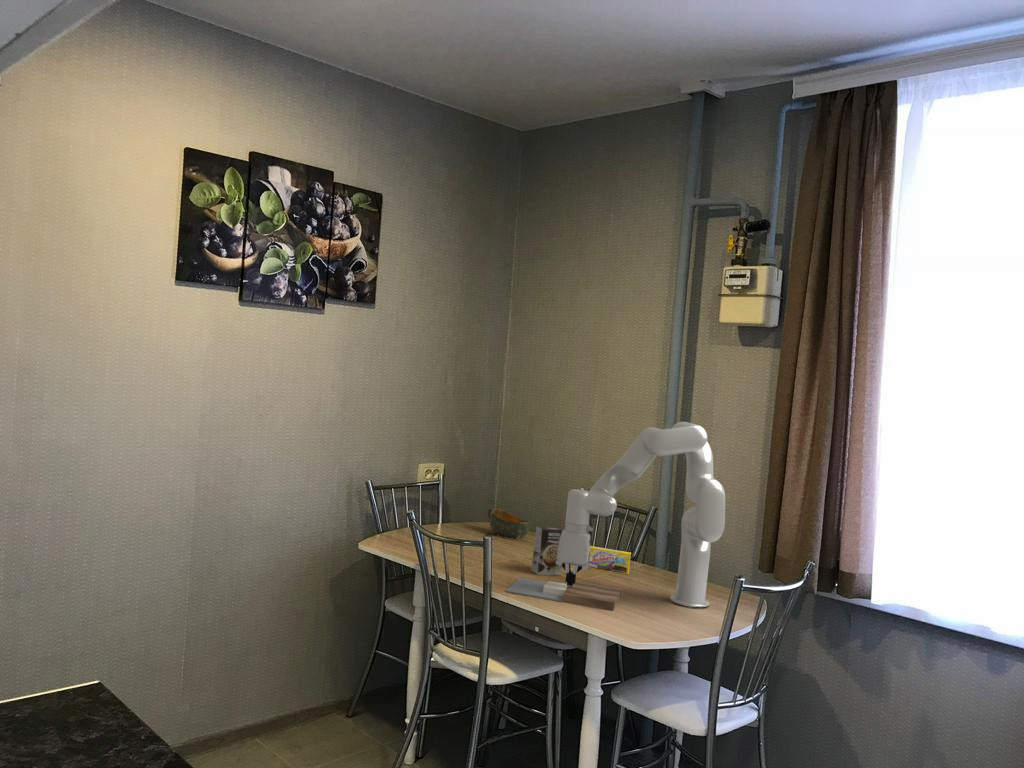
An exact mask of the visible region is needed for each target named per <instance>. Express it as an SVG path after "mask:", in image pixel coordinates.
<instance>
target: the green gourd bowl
mask: <svg viewBox="0 0 1024 768" xmlns="http://www.w3.org/2000/svg"><path fill="white" fill-rule="evenodd" d="M487 517H488V519H489V523H490V524H489V526H490V529H491V532H492V534H493V533H494V534H496V535H499V536H502V537H501V538H503V537H507V538H513V539H522V540H523V539H524V538H525V537H526V536H527V534H528V533H529V530H530V525H531V524H530V523H531V521H529V520H525V519H522V518H519V517H517V516H515V515H513V514H512V513H510V512H508V511H506V510H503V509H500V508H490V507H489V508H488V509H487ZM494 534H493V535H494ZM496 535H495V536H496ZM499 536H498V537H499ZM507 538H506V539H507ZM513 539H512V540H513Z"/></svg>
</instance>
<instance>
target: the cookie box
mask: <svg viewBox="0 0 1024 768" xmlns="http://www.w3.org/2000/svg"><path fill="white" fill-rule="evenodd" d="M535 529H536V530H535V537H534V544H533V545H534V547H533V555H532V561H531V562H532V563H531V568H530V569H531V571H532V572H533V573H534V574H536V575H538V576H561V575H562V571H563V570H562V569H563V567H562V566H560V565H557V564H556V560H557V552H558V546H559V541H560V537H561V533H562V531H563V530H564V529H565V528H562V527H559V526H546V525H545V526H544V525H536V528H535Z"/></svg>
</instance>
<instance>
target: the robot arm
mask: <svg viewBox="0 0 1024 768" xmlns="http://www.w3.org/2000/svg"><path fill="white" fill-rule="evenodd" d="M682 454H684V455H685V459H686V483H685V484H686V485H685V492H686V493H685V494H686V496H687V498H688V499H689V500H690V501H691V502H693V503H695V506H692V507H690V508H688V509H687V510H685V511H684V513H683V515H682V518H681V525H680V526H681V528H680V529H681V542H680V543H681V544H680V552H679V553H680V554H679V559H678V570H677V579H676V588H675V593H674V594H672V595H670V597H669V599H671V600H670V601H671V602H672V601H673V602H675V603H678V604H681V605H685V606H691V607H706V606H708V605H709V606H710V602H709V600H707V599H706V594H707V593H706V592H707V585H708V584H707V583H708V575H709V567H710V566H709V565H710V558H711V548H712V547H711V543H715V542H717V541H719V539H720V538H721V537H722V535H724V531H725V527H726V526H725V525H726V493H725V488H724V487H723V485H722V483H720V481H718V480H717V479H715V478H714V456H713V450H712V448H711V445H710V443H709V442H708V433H707V431H706V430H705V428H704V427H702V426H701V425H699V424H695V423H692V422H687V421H679V422H676V423H675V424H673V426H672V427H671V428H658V427H654V426H653V427H647V428H645V429H643V430H642V431H641V432H640V433H639V435H638V436H637V437H636V439H635V440H634V441H633V443H632V444H631V445H630V446H629V447H628V448H627V450H626V451H625V453H624V454H623V455H622V456H621V458H619V460H618V461H616V463H614V464H613V465H611V467H610V468H609V469H607V470H606V471H605V472H604V473H603V474H601V476H600V477H599V478H598V479H597V481H595V483H594V485H593V486H592V487H591V488H590V490H589V491H588V490H585V489H580V488H579V489H578V488H574V489H570V490H569V491H568V495H567V501H566V502H567V503H566V505H567V506H566V511H565V521H564V528H563V529H564V530H563V531H562V533H561V537H560V541H559V546H558V552H557V560H556V564H557V565H560V566H562V569H564V571H565V574H566V575H565V583H566V584H567V586H569V585H570V586H572V585H573V583H574V584H575V581H576V582H577V580H576V579H577V573H578V572H580V571H581V570H585V571H586V570H589V569H588V568H589V563H588V562H589V559H590V546H591V534H590V533H589V532H593V529H594V528H593V527H592V526H590V515H596V516H600V517H609V516H611V515H613V514H614V513H615V512H616V510H617V506H618V504H617V503H618V502H617V500H616V499H615V497H614V495H615V494H616V493H617V492H618V491H619V490H620V489H621V488H623V486H625V485H626V484H628V483H630V482H633V481H636V480H637V479H639V478H641V476H642V475H643V474H644V472H645V471H646V470H647V469H648V468H649V466H650V465H651V463H652V462H654V460H655V459H656V457H657V456H658V457H667V456H676V455H682ZM571 565H573V566H574V567H573V569H572V570H571V568H572V567H571ZM673 602H672V603H673ZM675 603H674V604H675ZM678 604H677V605H678ZM681 605H680V606H681ZM685 606H684V607H685ZM691 607H690V608H691Z"/></svg>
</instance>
